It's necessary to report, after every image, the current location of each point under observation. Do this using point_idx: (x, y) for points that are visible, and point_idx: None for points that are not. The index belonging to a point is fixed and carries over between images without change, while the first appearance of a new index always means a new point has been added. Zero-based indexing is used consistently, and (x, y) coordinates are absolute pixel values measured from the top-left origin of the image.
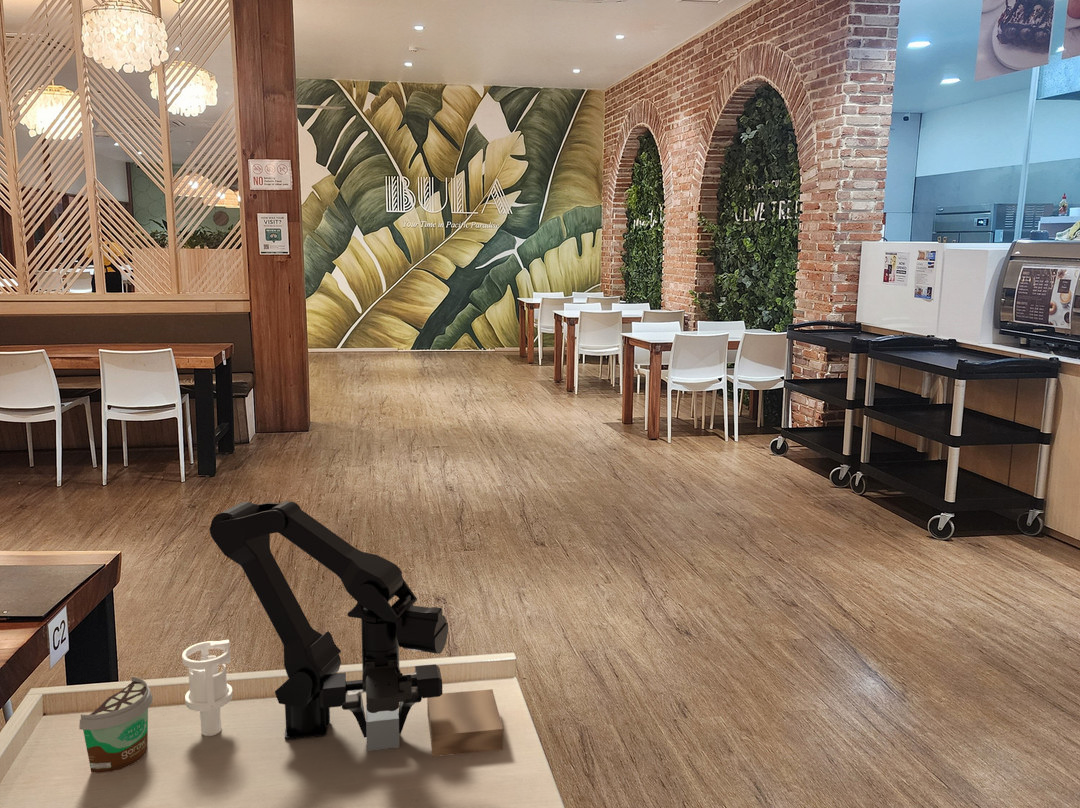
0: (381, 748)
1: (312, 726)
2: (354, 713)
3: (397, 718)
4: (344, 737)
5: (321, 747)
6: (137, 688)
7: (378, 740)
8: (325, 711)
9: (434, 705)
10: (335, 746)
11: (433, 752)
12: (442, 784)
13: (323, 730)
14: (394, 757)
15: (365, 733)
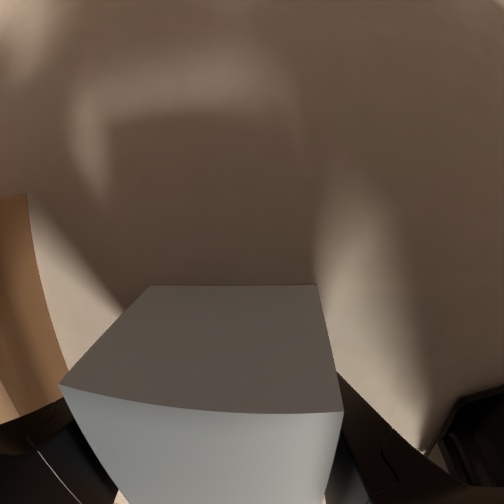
0: (237, 287)
1: (502, 418)
2: (441, 479)
3: (66, 388)
4: (399, 390)
5: (488, 334)
6: None
7: (247, 312)
8: (467, 477)
9: None
10: (445, 337)
11: (11, 197)
12: (19, 28)
13: (463, 415)
14: (167, 204)
15: None
